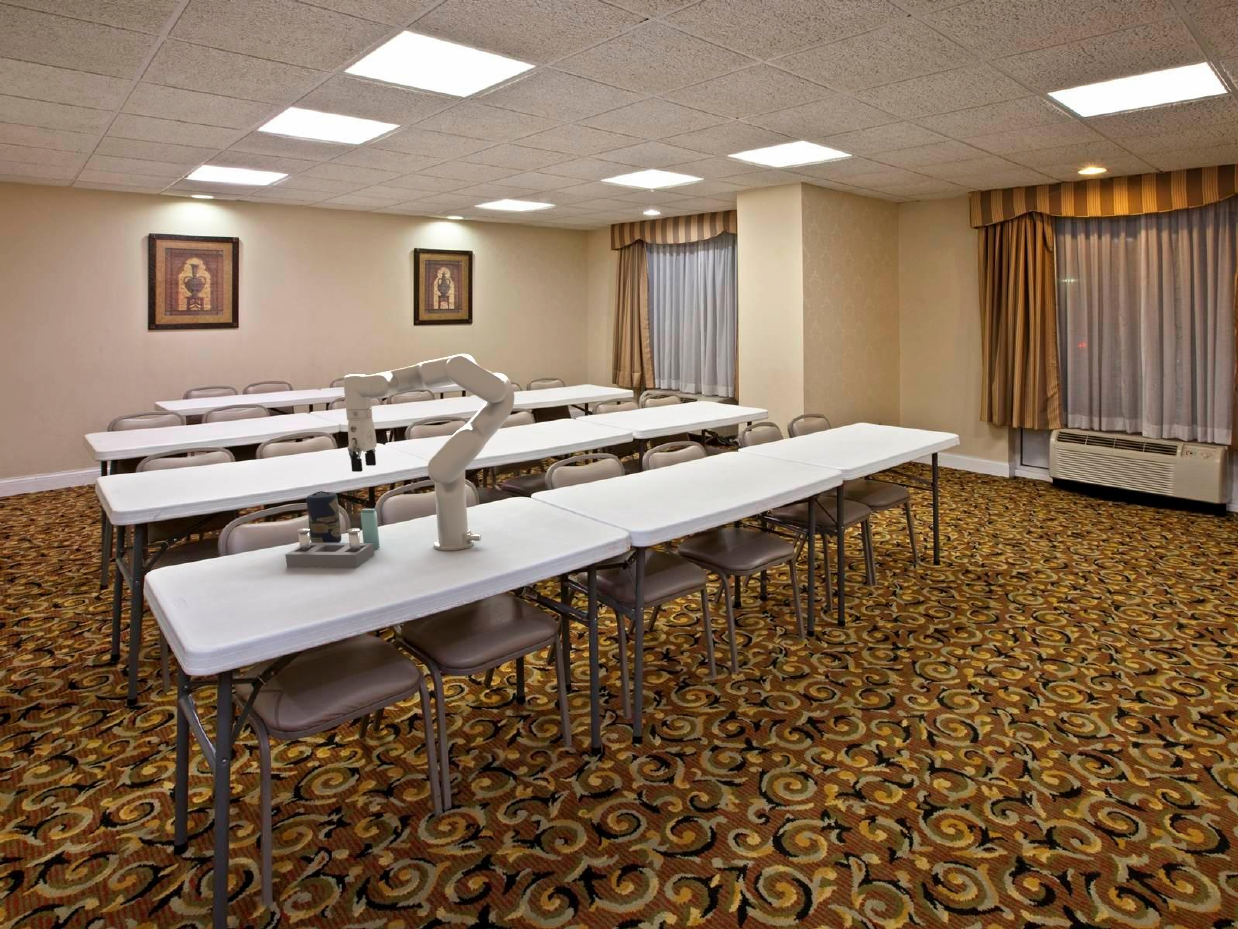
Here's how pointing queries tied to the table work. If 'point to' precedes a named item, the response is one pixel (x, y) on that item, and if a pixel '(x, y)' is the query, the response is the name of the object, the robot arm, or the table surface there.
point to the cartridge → (370, 527)
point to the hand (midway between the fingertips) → (364, 468)
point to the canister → (324, 517)
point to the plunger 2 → (354, 539)
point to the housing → (330, 556)
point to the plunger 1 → (304, 539)
